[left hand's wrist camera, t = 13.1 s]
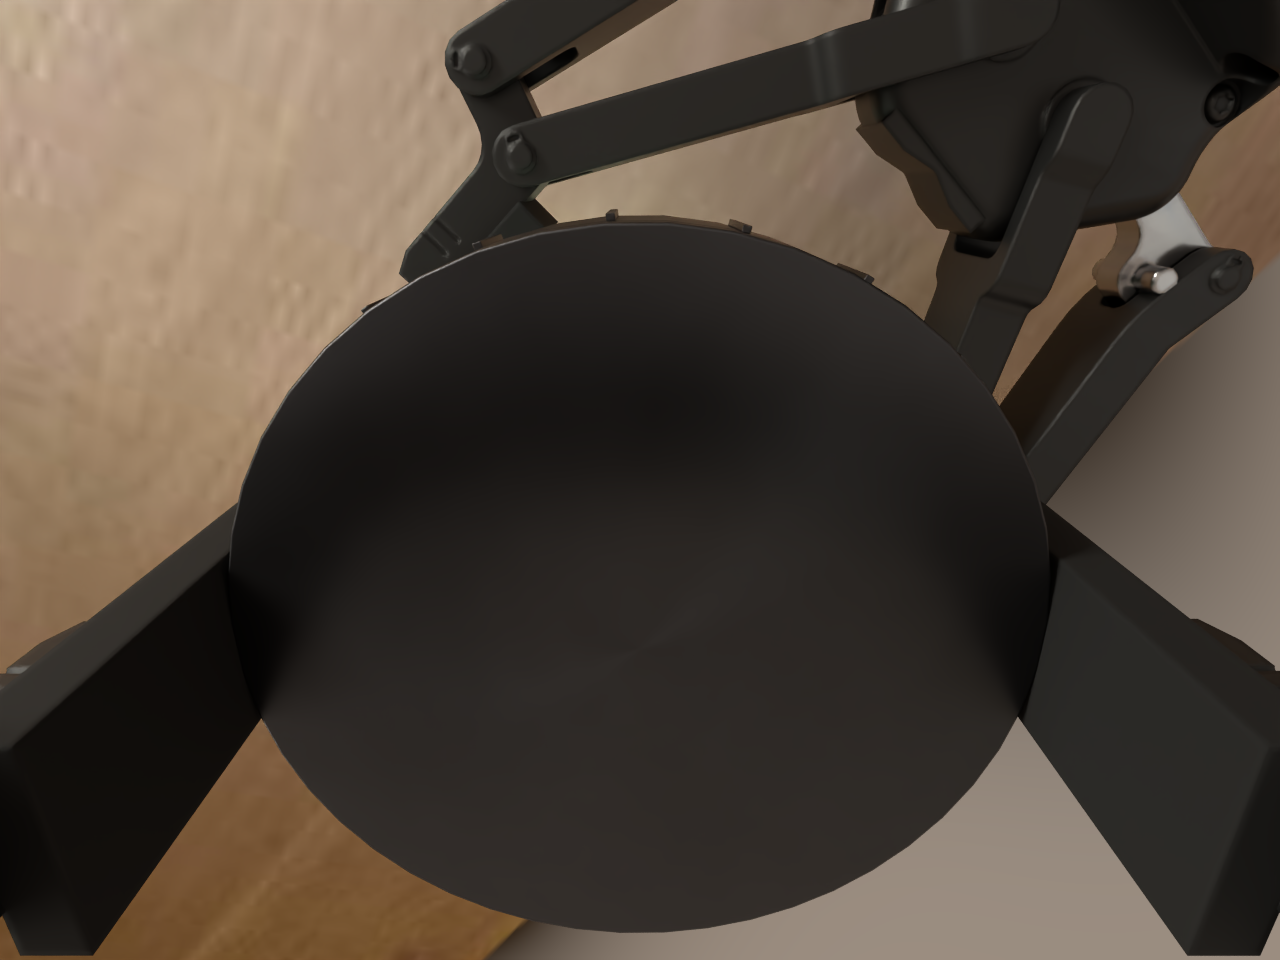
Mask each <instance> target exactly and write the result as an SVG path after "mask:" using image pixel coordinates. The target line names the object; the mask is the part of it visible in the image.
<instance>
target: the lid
mask: <svg viewBox="0 0 1280 960" xmlns="http://www.w3.org/2000/svg"><path fill="white" fill-rule="evenodd" d="M751 230H752V226H750V225H747V224H744V223H742V222H739V221H736V220H732V219H730V221H729V224H728V225H724V224H721V223H717V222H709V221H702V220H694V219H687V218H679V217H671V216H664V215H662V216H618V209H612V210H610V211H608V212H607V213H606V216H605V217H598V218H592V219H585V220H578V221H571V222H565V223H558V224H553V225H550V226H547V227H543V228H540V229H536V230H533V231H530V232H526V233H523V234H519V235H516V236H513V237H509V238H506V239H503V237H502V235H501V234H499V235H496V236H493V237H490V238H487V239H484V240H482V241H479V242H476V243H474V244H473V247H474V250H475V251H474V252H472V253H469V254H467V255H465V256H463V257H461V258H458V259H456V260H454V261H452V262H450V263H447V264H445V265H443V266H441V267H439V268H436V269H434V270H432V271H430V272H428V273H425V274H423V275H421V276H419V277H418V278H416V279H414V280H413V281H411V282H410V283H408V284H407V285H405V286H404V287H402V288H401V289H399V290H397V291H396V292H394V293H393V294H391V295H390V296H387V297H385V298H383V299H381V300H378V301H376V302H374V303H372V304H369V305H367V306H366V307H364V308H363V309H362V310H361V311H362V312H363V314H362V315H361V316H360V317H359V318H358V319H357V320H356V321H355V322H353V323H352V324H351V325H350V326H349V327H348V328H347V329H345V330H344V331H343V332H342V333H341V334H340V335H339V336H337V337H336V338H335V339H334V340H333V341H332V342H331V343H330V344H328V345H327V346H326V347H325V348H324V349H323V350H322V352H321V353H320V354H319V355H318V356H317V358H316V359H315V360H314V361H313V362H312V364H311V365H310V366H309V367H308V368H307V370H306V371H305V372H304V373H303V374H302V376H301V377H300V378H299V379H298V380H297V382H296V383H295V384H294V385H293V386H292V388H291V389H290V390H289V391H288V393H287V395H286V396H285V398H284V400H283V401H282V403H281V405H280V406H279V408H278V410H277V411H276V413H275V415H274V416H273V418H272V420H271V421H270V423H269V425H268V426H267V428H266V430H265V431H264V433H263V435H262V436H261V439H260V441H259V444H258V446H257V449H256V451H255V454H254V456H253V459H252V461H251V464H250V466H249V469H248V471H247V474H246V476H245V479H244V481H243V484H242V487H241V492H240V496H239V500H238V505H237V509H236V514H235V518H234V523H233V527H232V531H231V541H230V557H229V572H228V589H229V600H230V612H231V622H232V627H233V632H234V636H235V640H236V644H237V649H238V653H239V657H240V661H241V666H242V670H243V674H244V677H245V680H246V682H247V685H248V687H249V690H250V692H251V695H252V697H253V700H254V702H255V705H256V707H257V710H258V712H259V715H260V717H261V718H262V720H263V722H264V724H265V725H266V727H267V729H268V731H269V732H270V734H271V736H272V738H273V739H274V741H275V743H276V745H277V746H278V748H279V750H280V752H281V753H282V755H283V756H284V757H285V759H286V760H287V761H288V763H289V764H290V765H291V767H292V768H293V769H294V771H295V772H296V773H297V775H298V776H299V777H300V779H301V780H302V781H303V783H304V784H305V785H306V787H307V788H308V789H309V790H310V791H311V792H312V793H313V794H314V795H315V797H316V798H317V799H318V800H319V801H320V802H321V803H322V804H323V805H324V806H325V807H326V808H327V809H328V810H329V811H330V812H331V813H332V814H333V815H334V816H335V817H336V818H337V819H338V820H339V821H340V822H341V823H342V824H343V825H345V826H346V827H347V828H348V829H350V830H351V831H352V832H353V833H354V834H356V835H357V836H358V837H359V838H361V839H362V840H363V841H364V842H365V843H367V844H368V845H369V846H370V847H372V848H373V849H374V850H376V851H377V852H379V853H380V854H382V855H383V856H385V857H386V858H388V859H389V860H391V861H393V862H394V863H396V864H397V865H399V866H400V867H402V868H403V869H405V870H406V871H408V872H409V873H411V874H413V875H415V876H417V877H419V878H421V879H423V880H425V881H427V882H429V883H431V884H433V885H435V886H437V887H439V888H440V889H442V890H444V891H446V892H448V893H450V894H453V895H456V896H458V897H461V898H463V899H466V900H468V901H471V902H474V903H476V904H479V905H481V906H484V907H486V908H489V909H492V910H495V911H499V912H503V913H506V914H510V915H513V916H517V917H520V918H524V919H527V920H531V921H535V922H541V923H547V924H553V925H558V926H563V927H569V928H574V929H583V930H595V931H606V932H618V933H644V932H645V933H646V932H647V933H648V932H673V931H683V930H693V929H703V928H711V927H716V926H721V925H726V924H731V923H736V922H741V921H747V920H751V919H755V918H758V917H761V916H765V915H768V914H772V913H775V912H779V911H782V910H785V909H789V908H792V907H795V906H797V905H800V904H802V903H805V902H807V901H810V900H812V899H815V898H817V897H820V896H822V895H825V894H827V893H830V892H832V891H834V890H836V889H838V888H840V887H842V886H844V885H846V884H848V883H849V882H851V881H853V880H855V879H857V878H859V877H861V876H863V875H865V874H867V873H868V872H870V871H872V870H874V869H875V868H877V867H878V866H880V865H881V864H883V863H884V862H886V861H887V860H889V859H890V858H892V857H893V856H895V855H896V854H898V853H899V852H901V851H902V850H904V849H905V848H907V847H908V846H910V845H911V844H912V843H913V842H914V841H915V840H917V839H918V838H919V837H920V836H921V835H923V834H924V833H925V832H926V831H927V830H929V829H930V828H931V827H932V826H933V825H935V824H936V823H937V822H938V821H939V820H940V819H942V818H943V817H944V816H945V815H946V814H947V813H948V811H949V810H950V809H951V808H952V807H953V806H954V805H955V804H956V803H957V802H958V801H959V800H960V799H961V798H962V797H963V796H964V795H965V793H966V792H967V791H968V790H969V789H970V788H971V787H972V786H973V785H974V784H975V782H976V781H977V779H978V778H979V777H980V775H981V774H982V773H983V771H984V770H985V768H986V767H987V766H988V764H989V763H990V762H991V760H992V759H993V758H994V756H995V755H996V753H997V752H998V751H999V749H1000V748H1001V746H1002V744H1003V742H1004V740H1005V738H1006V737H1007V735H1008V733H1009V731H1010V729H1011V728H1012V726H1013V724H1014V722H1015V720H1016V718H1017V717H1018V715H1019V713H1020V711H1021V709H1022V706H1023V704H1024V701H1025V699H1026V696H1027V693H1028V691H1029V688H1030V686H1031V683H1032V680H1033V678H1034V675H1035V673H1036V670H1037V667H1038V663H1039V658H1040V654H1041V649H1042V645H1043V641H1044V636H1045V632H1046V627H1047V622H1048V609H1049V595H1050V582H1051V572H1050V560H1049V548H1048V535H1047V526H1046V522H1045V518H1044V514H1043V510H1042V506H1041V502H1040V498H1039V494H1038V489H1037V485H1036V481H1035V478H1034V476H1033V473H1032V471H1031V468H1030V466H1029V464H1028V461H1027V459H1026V457H1025V454H1024V452H1023V449H1022V447H1021V445H1020V442H1019V440H1018V437H1017V435H1016V433H1015V431H1014V429H1013V428H1012V426H1011V424H1010V423H1009V421H1008V419H1007V418H1006V416H1005V415H1004V413H1003V411H1002V410H1001V408H1000V407H999V405H998V403H997V402H996V400H995V399H994V397H993V395H992V394H991V392H990V390H989V389H988V387H987V386H986V385H985V383H984V382H983V381H982V380H981V379H980V378H979V376H978V375H977V374H976V373H975V372H974V371H973V369H972V368H971V367H970V366H969V365H968V364H967V363H966V361H967V360H966V358H965V357H964V356H963V355H962V354H960V353H958V352H957V351H956V350H955V349H954V347H953V346H952V345H951V344H950V343H949V342H948V341H947V340H945V339H944V338H943V337H942V336H941V335H940V334H938V333H937V332H936V331H935V330H934V329H933V328H931V327H930V326H929V325H928V324H927V323H926V322H924V321H923V320H922V319H921V318H920V317H919V316H917V315H916V314H915V313H914V312H913V311H912V310H910V309H909V308H908V307H907V306H906V305H904V304H903V303H901V302H899V301H898V300H896V299H895V298H893V297H891V296H890V295H888V294H887V293H885V292H883V291H882V290H880V289H878V288H877V287H875V286H874V285H872V282H873V281H874V278H873V277H871V276H870V275H868V274H865V273H863V272H860V271H858V270H855V269H852V268H850V267H847V266H845V265H842V264H840V263H838V264H837V265H834V264H832V263H830V262H827V261H825V260H823V259H821V258H818V257H816V256H814V255H811V254H809V253H807V252H805V251H802V250H800V249H798V248H795V247H793V246H790V245H788V244H785V243H783V242H780V241H778V240H775V239H773V238H770V237H767V236H764V235H760V234H757V233H753V232H751Z"/></svg>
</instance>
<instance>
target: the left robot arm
mask: <svg viewBox="0 0 1280 960" xmlns="http://www.w3.org/2000/svg"><path fill="white" fill-rule="evenodd" d="M1040 502H1041V506H1042V510H1043V514H1044V518H1045V522H1046V526H1047V535H1048V548H1049V560H1050V572H1051V582H1050V595H1049V609H1048V622H1047V627H1046V632H1045V636H1044V641H1043V645H1042V649H1041V654H1040V658H1039V663H1038V667H1037V670H1036V673H1035V675H1034V678H1033V680H1032V683H1031V686H1030V688H1029V691H1028V693H1027V696H1026V699H1025V701H1024V704H1023V706H1022V709H1021V711H1020V713H1019V715H1018V717H1019V719H1020V720H1021V722H1022V723H1023V724H1024V726H1025V727H1026V729H1027V730H1028V732H1029V733H1030V734H1031V736H1032V737H1033V739H1034V740H1035V741H1036V743H1037V744H1038V746H1039V747H1040V748H1041V750H1042V751H1043V753H1044V754H1045V755H1046V757H1047V758H1048V760H1049V761H1050V762H1051V764H1052V765H1053V767H1054V768H1055V770H1056V771H1057V772H1058V774H1059V775H1060V777H1061V778H1062V779H1063V781H1064V782H1065V784H1066V785H1067V786H1068V788H1069V789H1070V791H1071V792H1072V794H1073V795H1074V796H1075V798H1076V799H1077V801H1078V802H1079V803H1080V805H1081V806H1082V808H1083V809H1084V810H1085V812H1086V813H1087V815H1088V816H1089V817H1090V819H1091V820H1092V822H1093V823H1094V824H1095V826H1096V827H1097V829H1098V830H1099V832H1100V833H1101V834H1102V836H1103V837H1104V839H1105V840H1106V841H1107V843H1108V844H1109V846H1110V847H1111V848H1112V850H1113V851H1114V853H1115V854H1116V856H1117V857H1118V858H1119V860H1120V861H1121V862H1122V864H1123V865H1124V867H1125V868H1126V870H1127V871H1128V872H1129V874H1130V875H1131V877H1132V878H1133V879H1134V881H1135V882H1136V884H1137V885H1138V886H1139V888H1140V889H1141V891H1142V892H1143V894H1144V895H1145V896H1146V898H1147V899H1148V901H1149V902H1150V903H1151V905H1152V906H1153V908H1154V909H1155V910H1156V912H1157V913H1158V915H1159V916H1160V918H1161V919H1162V920H1163V922H1164V923H1165V925H1166V926H1167V927H1168V929H1169V930H1170V932H1171V933H1172V934H1173V936H1174V937H1175V939H1176V940H1177V941H1178V943H1179V944H1180V946H1181V947H1182V949H1183V950H1184V951H1185V953H1186V954H1187V955H1188V956H1260V955H1261V953H1262V950H1263V948H1264V946H1265V944H1266V941H1267V939H1268V937H1269V935H1270V932H1271V930H1272V928H1273V926H1274V923H1275V921H1276V919H1277V916H1278V914H1279V913H1280V671H1275V666H1274V665H1273V664H1271V663H1270V662H1269V661H1268V660H1266V659H1265V658H1264V657H1262V656H1261V655H1260V654H1258V653H1257V652H1256V651H1254V650H1253V649H1252V648H1250V647H1249V646H1248V645H1247V644H1245V643H1244V642H1243V641H1241V640H1239V639H1237V638H1235V637H1233V636H1231V635H1229V634H1227V633H1225V632H1223V631H1221V630H1219V629H1217V628H1215V627H1213V626H1211V625H1209V624H1207V623H1205V622H1203V621H1201V620H1199V619H1190V618H1188V617H1187V616H1186V615H1184V614H1183V613H1182V612H1181V611H1179V610H1178V609H1177V608H1176V607H1174V606H1173V605H1172V604H1171V603H1169V602H1168V601H1167V600H1166V599H1164V598H1163V597H1162V596H1161V595H1159V594H1158V593H1157V592H1155V591H1154V590H1153V589H1152V588H1150V587H1149V586H1148V585H1147V584H1145V583H1144V582H1143V581H1141V580H1140V579H1139V578H1138V577H1136V576H1135V575H1134V574H1133V573H1131V572H1130V571H1129V570H1128V569H1126V568H1125V567H1124V566H1123V565H1121V564H1120V563H1119V562H1117V561H1116V560H1115V559H1114V558H1112V557H1111V556H1110V555H1109V554H1107V553H1106V552H1105V551H1104V550H1102V549H1101V548H1100V547H1098V546H1097V545H1096V544H1095V543H1093V542H1092V541H1091V540H1090V539H1088V538H1087V537H1086V536H1085V535H1083V534H1082V533H1081V532H1079V531H1078V530H1077V529H1076V528H1074V527H1073V526H1072V525H1071V524H1069V523H1068V522H1067V521H1066V520H1064V519H1063V518H1062V517H1061V516H1059V515H1058V514H1057V513H1055V512H1054V511H1053V510H1052V509H1050V508H1049V507H1048V506H1047V505H1045V504H1044V503H1043V502H1042V501H1040ZM237 505H238V503H236V504H235V505H234V506H232V507H231V508H230V509H229V510H227V511H226V512H225V513H224V514H222V515H221V516H220V517H219V518H217V519H216V520H215V521H213V522H212V523H211V524H210V525H208V526H207V527H206V528H205V529H203V530H202V531H201V532H200V533H198V534H197V535H196V536H194V537H193V538H192V539H191V540H189V541H188V542H187V543H186V544H184V545H183V546H182V547H181V548H179V549H178V550H177V551H176V552H174V553H173V554H172V555H170V556H169V557H168V558H167V559H165V560H164V561H163V562H162V563H160V564H159V565H158V566H157V567H155V568H154V569H153V570H151V571H150V572H149V573H148V574H146V575H145V576H144V577H143V578H141V579H140V580H139V581H138V582H136V583H135V584H134V585H132V586H131V587H130V588H129V589H127V590H126V591H125V592H124V593H122V594H121V595H120V596H119V597H117V598H116V599H115V600H114V601H112V602H111V603H110V604H108V605H107V606H106V607H105V608H103V609H102V610H101V611H100V612H98V613H97V614H96V615H95V616H93V617H92V618H91V619H89V620H88V621H84V622H82V623H79V624H77V625H75V626H73V627H71V628H69V629H67V630H65V631H63V632H61V633H59V634H57V635H55V636H53V637H51V638H49V639H47V640H45V641H43V642H41V643H40V644H38V645H37V646H36V647H34V648H33V649H32V650H31V651H29V652H28V653H27V654H25V655H24V656H23V657H21V658H20V659H19V660H17V661H16V662H15V663H14V664H12V665H11V666H10V667H8V668H7V672H6V674H0V917H1V916H2V915H3V918H4V920H5V922H6V924H7V927H8V929H9V931H10V934H11V936H12V938H13V940H14V943H15V945H16V947H17V949H18V952H19V954H20V956H93V955H94V953H95V952H96V950H97V949H98V948H99V946H100V945H101V943H102V942H103V941H104V939H105V938H106V936H107V935H108V934H109V932H110V931H111V929H112V928H113V926H114V925H115V924H116V922H117V921H118V919H119V918H120V917H121V915H122V914H123V912H124V911H125V910H126V908H127V907H128V905H129V904H130V902H131V901H132V900H133V898H134V897H135V895H136V894H137V893H138V891H139V890H140V888H141V887H142V886H143V884H144V883H145V881H146V880H147V879H148V877H149V876H150V874H151V873H152V871H153V870H154V869H155V867H156V866H157V864H158V863H159V862H160V860H161V859H162V857H163V856H164V855H165V853H166V852H167V850H168V849H169V848H170V846H171V845H172V843H173V842H174V840H175V839H176V838H177V836H178V835H179V833H180V832H181V831H182V829H183V828H184V826H185V825H186V824H187V822H188V821H189V819H190V818H191V817H192V815H193V814H194V812H195V811H196V809H197V808H198V807H199V805H200V804H201V802H202V801H203V800H204V798H205V797H206V795H207V794H208V793H209V791H210V790H211V788H212V787H213V786H214V784H215V783H216V781H217V780H218V778H219V777H220V776H221V774H222V773H223V771H224V770H225V769H226V767H227V766H228V764H229V763H230V762H231V760H232V759H233V757H234V756H235V755H236V753H237V752H238V750H239V749H240V747H241V746H242V745H243V743H244V742H245V740H246V739H247V738H248V736H249V735H250V733H251V732H252V731H253V729H254V728H255V726H256V725H257V723H258V722H259V721H260V719H261V717H260V715H259V712H258V710H257V707H256V705H255V702H254V700H253V697H252V695H251V692H250V690H249V687H248V685H247V682H246V680H245V677H244V674H243V670H242V666H241V661H240V657H239V653H238V649H237V644H236V640H235V636H234V632H233V627H232V622H231V612H230V600H229V589H228V572H229V557H230V541H231V531H232V527H233V523H234V518H235V514H236V509H237Z"/></svg>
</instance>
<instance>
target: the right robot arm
mask: <svg viewBox="0 0 1280 960" xmlns="http://www.w3.org/2000/svg"><path fill="white" fill-rule="evenodd" d="M676 1H677V0H505V1H504V2H502V3H501V4H499V5H498V6H496V7H495V8H493V9H492V10H490V11H488V12H487V13H485V14H484V15H482V16H481V17H479V18H478V19H476V20H474V21H473V22H471V23H470V24H468V25H467V26H465V27H464V28H462V29H461V30H459V31H458V32H457V33H456V34H455V35H454V36H453V37H452V38H451V39H450V40H449V43H448V46H447V48H446V51H445V66H446V69H447V72H448V75H449V77H450V79H451V80H452V81H453V83H454V84H455V85H456V86H457V87H458V88H459V89H460V91H461V93H462V95H463V97H464V99H465V101H466V103H467V105H468V107H469V109H470V111H471V113H472V115H473V117H474V120H475V122H476V124H477V126H478V129H479V131H480V134H481V141H482V149H481V156H480V159H479V162H478V164H477V165H476V167H475V169H474V170H473V171H472V173H471V174H470V175H469V176H468V177H467V179H466V180H465V181H464V182H463V183H462V185H461V186H460V187H459V188H458V189H457V190H456V192H455V193H454V194H453V195H452V196H451V198H450V199H449V200H448V201H447V202H446V204H445V205H444V206H443V207H442V208H441V210H440V211H439V212H438V213H437V214H436V215H435V217H434V218H433V219H432V220H431V221H430V223H429V224H428V225H427V226H426V227H425V229H424V230H423V231H422V232H421V233H420V234H419V236H418V237H417V238H416V239H415V240H414V242H413V243H412V244H411V245H410V246H409V248H408V249H407V250H406V252H405V255H404V258H403V262H402V265H401V269H400V272H399V274H400V275H401V276H402V277H403V278H404V279H405V280H406V281H407V282H409V283H410V282H411V281H413V280H414V279H416V278H418V277H419V276H421V275H423V274H425V273H428V272H430V271H432V270H434V269H436V268H439V267H441V266H443V265H445V264H447V263H450V262H452V261H454V260H456V259H458V258H461V257H463V256H465V255H467V254H469V253H472V252H474V251H475V250H474V247H473V244H474V243H476V242H479V241H482V240H484V239H487V238H490V237H493V236H496V235H499V234H501V235H502V237H503V239H506V238H509V237H513V236H516V235H519V234H523V233H526V232H530V231H533V230H536V229H540V228H543V227H547V226H550V225H553V224H556V223H557V222H558V221H557V220H556V219H555V218H554V217H553V216H552V215H551V214H550V213H549V212H548V211H547V210H546V209H545V208H544V207H543V206H542V205H541V204H540V203H539V202H538V201H537V200H536V199H535V198H536V197H537V196H538V194H539V193H540V192H541V191H542V190H543V189H544V188H545V186H547V185H550V184H554V183H557V182H561V181H564V180H568V179H572V178H575V177H579V176H582V175H586V174H589V173H593V172H597V171H600V170H604V169H607V168H611V167H614V166H618V165H622V164H625V163H629V162H632V161H636V160H640V159H643V158H647V157H650V156H654V155H657V154H661V153H665V152H668V151H672V150H675V149H679V148H683V147H686V146H690V145H693V144H697V143H700V142H704V141H708V140H711V139H715V138H718V137H722V136H725V135H729V134H733V133H736V132H740V131H743V130H747V129H751V128H754V127H758V126H761V125H765V124H768V123H772V122H776V121H779V120H783V119H786V118H790V117H794V116H798V115H802V114H806V113H810V112H814V111H817V110H821V109H825V108H828V107H832V106H835V105H839V104H842V103H846V102H850V101H853V100H855V102H856V109H857V113H858V117H859V120H860V122H861V125H860V126H859V127H858V128H857V129H856V130H857V131H858V133H859V134H860V135H861V136H862V137H863V139H864V140H865V141H866V142H867V144H868V145H869V146H870V147H871V148H872V150H873V151H874V152H875V153H876V154H877V155H878V156H880V157H881V158H883V159H884V160H886V161H887V162H888V163H890V164H891V165H893V166H894V167H896V168H897V169H899V170H900V171H902V172H903V173H904V174H905V176H906V178H907V181H908V183H909V186H910V188H911V190H912V193H913V195H914V198H915V200H916V202H917V205H918V206H919V207H920V208H921V210H922V211H923V212H924V213H925V215H926V216H927V217H928V218H929V220H930V221H931V222H932V223H933V224H934V226H935V227H936V228H939V229H946V230H949V231H950V233H949V236H948V238H947V241H946V243H945V246H944V249H943V251H942V254H941V257H940V259H939V262H938V266H937V271H936V277H937V288H936V291H935V294H934V296H933V299H932V301H931V304H930V307H929V309H928V312H927V314H926V317H925V320H924V322H926V323H927V324H928V325H929V326H930V327H931V328H933V329H934V330H935V331H936V332H937V333H938V334H940V335H941V336H942V337H943V338H944V339H945V340H947V341H948V342H949V343H950V344H951V345H952V346H953V347H954V349H955V350H956V351H957V352H958V353H960V354H962V355H963V356H964V357H965V358H966V360H967V361H966V363H967V364H968V365H969V366H970V367H971V368H972V369H973V371H974V372H975V373H976V374H977V375H978V376H979V378H980V379H981V380H982V381H983V382H984V383H985V385H986V386H987V387H988V389H989V390H990V392H991V394H993V391H994V389H995V387H996V384H997V382H998V380H999V377H1000V375H1001V373H1002V370H1003V368H1004V366H1005V364H1006V361H1007V359H1008V357H1009V354H1010V352H1011V350H1012V347H1013V345H1014V343H1015V341H1016V338H1017V336H1018V334H1019V331H1020V329H1021V327H1022V324H1023V322H1024V320H1025V318H1026V316H1027V314H1028V313H1029V312H1030V311H1031V310H1032V309H1033V308H1035V307H1036V306H1038V305H1039V304H1041V303H1042V301H1043V300H1044V299H1045V298H1046V297H1047V295H1048V293H1049V291H1050V290H1051V287H1052V285H1053V283H1054V281H1055V278H1056V276H1057V274H1058V272H1059V269H1060V267H1061V265H1062V263H1063V260H1064V258H1065V256H1066V253H1067V251H1068V249H1069V247H1070V244H1071V242H1072V240H1073V238H1074V235H1075V233H1076V231H1077V229H1083V228H1089V227H1095V226H1101V225H1107V224H1113V223H1115V224H1116V228H1117V236H1116V241H1115V244H1114V246H1113V248H1112V250H1111V251H1110V252H1109V253H1108V255H1107V256H1106V257H1105V258H1104V259H1101V260H1099V261H1098V262H1097V263H1096V264H1095V266H1094V267H1093V271H1092V275H1093V278H1094V279H1095V280H1096V286H1094V287H1093V288H1092V289H1091V290H1090V291H1089V292H1087V293H1086V294H1085V295H1084V296H1083V297H1082V298H1081V299H1080V300H1079V301H1078V302H1077V303H1076V304H1075V305H1074V306H1073V307H1072V308H1071V310H1070V311H1069V312H1068V313H1067V315H1066V316H1065V317H1064V318H1063V320H1062V321H1061V322H1060V323H1059V325H1058V326H1057V327H1056V329H1055V330H1054V331H1053V333H1052V334H1051V335H1050V337H1049V338H1048V340H1047V341H1046V342H1045V344H1044V345H1043V347H1042V348H1041V349H1040V351H1039V352H1038V353H1037V355H1036V356H1035V358H1034V359H1033V360H1032V362H1031V363H1030V364H1029V366H1028V367H1027V369H1026V370H1025V371H1024V373H1023V374H1022V375H1021V377H1020V378H1019V380H1018V381H1017V382H1016V384H1015V385H1014V386H1013V388H1012V389H1011V391H1010V392H1009V393H1008V395H1007V396H1006V397H1005V399H1004V400H1003V402H1002V403H1001V404H1000V406H999V407H1000V408H1001V410H1002V411H1003V413H1004V415H1005V416H1006V418H1007V419H1008V421H1009V423H1010V424H1011V426H1012V428H1013V429H1014V431H1015V433H1016V435H1017V437H1018V440H1019V442H1020V445H1021V447H1022V449H1023V452H1024V454H1025V457H1026V459H1027V461H1028V464H1029V466H1030V468H1031V471H1032V473H1033V476H1034V478H1035V481H1036V485H1037V489H1038V494H1039V498H1040V501H1042V502H1043V503H1044V504H1045V505H1046V504H1047V502H1048V501H1049V500H1050V498H1051V497H1052V496H1053V495H1054V493H1055V492H1056V491H1057V490H1058V488H1059V487H1060V486H1061V484H1062V483H1063V482H1064V481H1065V479H1066V478H1067V477H1068V476H1069V474H1070V473H1071V472H1072V471H1073V469H1074V468H1075V467H1076V466H1077V464H1078V463H1079V462H1080V460H1081V459H1082V458H1083V457H1084V455H1085V454H1086V453H1087V452H1088V450H1089V449H1090V448H1091V447H1092V445H1093V444H1094V443H1095V441H1096V440H1097V439H1098V438H1099V436H1100V435H1101V434H1102V433H1103V431H1104V430H1105V429H1106V428H1107V426H1108V425H1109V424H1110V422H1111V421H1112V420H1113V419H1114V417H1115V416H1116V415H1117V414H1118V412H1119V411H1120V410H1121V409H1122V407H1123V406H1124V405H1125V403H1126V402H1127V401H1128V400H1129V398H1130V397H1131V396H1132V395H1133V393H1134V392H1135V391H1136V390H1137V388H1138V387H1139V386H1140V384H1141V383H1142V382H1143V381H1144V379H1145V378H1146V377H1147V376H1148V374H1149V373H1150V372H1151V371H1152V369H1153V368H1154V367H1155V366H1156V364H1157V363H1158V362H1159V360H1160V359H1161V358H1162V357H1163V355H1164V354H1165V353H1166V352H1167V350H1168V349H1169V348H1170V347H1172V346H1173V345H1174V344H1176V343H1177V342H1179V341H1180V340H1181V339H1183V338H1184V337H1185V336H1187V335H1188V334H1189V333H1191V332H1192V331H1194V330H1195V329H1196V328H1198V327H1199V326H1200V325H1202V324H1203V323H1204V322H1206V321H1207V320H1209V319H1210V318H1211V317H1213V316H1214V315H1215V314H1217V313H1218V312H1219V311H1221V310H1222V309H1224V308H1225V307H1226V306H1228V305H1229V304H1230V303H1232V302H1233V301H1235V300H1236V299H1237V298H1238V297H1239V296H1240V295H1241V294H1242V293H1243V292H1244V291H1245V290H1246V289H1247V287H1248V286H1249V284H1250V282H1251V280H1252V276H1253V269H1254V268H1253V264H1252V261H1251V258H1250V257H1249V256H1248V255H1247V254H1246V253H1245V252H1242V251H1239V250H1235V249H1227V248H1218V247H1213V246H1211V244H1210V243H1209V242H1208V240H1207V238H1206V237H1205V235H1204V233H1203V232H1202V230H1201V228H1200V227H1199V225H1198V223H1197V222H1196V220H1195V218H1194V217H1193V215H1192V213H1191V212H1190V210H1189V208H1188V207H1187V205H1186V203H1185V202H1184V200H1183V198H1182V197H1181V195H1180V193H1179V191H1180V190H1181V189H1182V188H1183V186H1184V185H1185V183H1186V182H1187V180H1188V178H1189V176H1190V174H1191V172H1192V170H1193V168H1194V166H1195V163H1196V162H1197V160H1198V158H1199V157H1200V155H1201V153H1202V152H1203V150H1204V149H1205V147H1206V146H1207V144H1208V143H1209V142H1210V141H1211V139H1212V138H1213V137H1214V136H1215V135H1216V134H1217V132H1219V131H1220V130H1221V129H1222V128H1223V127H1224V126H1225V125H1227V124H1228V123H1229V122H1230V121H1232V120H1233V119H1234V118H1236V117H1237V116H1239V115H1240V114H1241V113H1243V112H1244V111H1246V110H1247V109H1248V108H1250V107H1251V106H1253V105H1254V104H1255V103H1257V102H1258V101H1260V100H1261V99H1262V98H1264V97H1265V96H1266V95H1268V94H1269V93H1270V92H1272V91H1273V90H1274V89H1276V88H1277V87H1278V86H1279V85H1280V0H875V1H874V5H873V10H872V14H871V18H870V19H869V20H866V21H862V22H859V23H855V24H852V25H848V26H845V27H842V28H838V29H835V30H832V31H830V32H827V33H824V34H822V35H820V36H817V37H815V38H812V39H810V40H807V41H803V42H800V43H797V44H793V45H790V46H786V47H783V48H779V49H776V50H772V51H769V52H765V53H762V54H759V55H755V56H752V57H748V58H745V59H741V60H738V61H734V62H731V63H727V64H724V65H720V66H717V67H713V68H710V69H706V70H703V71H700V72H696V73H693V74H689V75H686V76H682V77H679V78H675V79H672V80H668V81H665V82H661V83H658V84H654V85H651V86H647V87H644V88H641V89H637V90H634V91H630V92H627V93H623V94H620V95H616V96H613V97H609V98H606V99H602V100H599V101H595V102H592V103H588V104H585V105H582V106H578V107H575V108H571V109H568V110H564V111H561V112H557V113H554V114H550V115H547V116H543V117H542V116H541V114H540V112H539V110H538V108H537V105H536V103H535V101H534V99H533V97H532V95H531V93H530V91H532V90H533V89H535V88H536V87H538V86H540V85H541V84H543V83H544V82H546V81H548V80H549V79H551V78H553V77H554V76H556V75H557V74H559V73H561V72H562V71H564V70H566V69H567V68H569V67H570V66H572V65H574V64H575V63H577V62H579V61H580V60H582V59H583V58H585V57H587V56H588V55H590V54H591V53H593V52H595V51H596V50H598V49H600V48H601V47H603V46H604V45H606V44H608V43H609V42H611V41H613V40H614V39H616V38H617V37H619V36H621V35H622V34H624V33H626V32H627V31H629V30H630V29H632V28H634V27H635V26H637V25H638V24H640V23H642V22H643V21H645V20H647V19H648V18H650V17H651V16H653V15H655V14H656V13H658V12H660V11H661V10H663V9H664V8H666V7H668V6H669V5H671V4H672V3H674V2H676Z"/></svg>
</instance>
